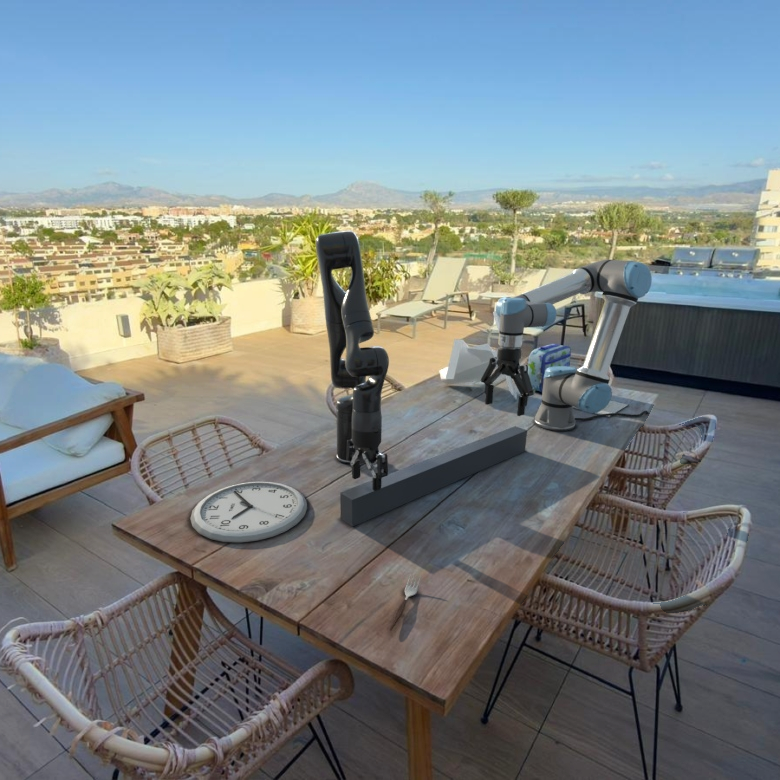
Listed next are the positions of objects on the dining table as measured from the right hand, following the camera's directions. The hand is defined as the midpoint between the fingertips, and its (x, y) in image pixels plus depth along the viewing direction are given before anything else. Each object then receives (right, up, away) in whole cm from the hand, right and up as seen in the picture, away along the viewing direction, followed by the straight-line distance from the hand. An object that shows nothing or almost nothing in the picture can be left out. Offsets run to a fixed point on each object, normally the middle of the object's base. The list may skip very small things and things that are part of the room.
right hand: (504, 409), depth 174 cm
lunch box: (+37, +7, +77) cm, 86 cm away
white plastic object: (+4, +5, +69) cm, 69 cm away
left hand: (-44, -18, -38) cm, 61 cm away
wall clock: (-75, -26, -35) cm, 87 cm away
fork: (-35, -37, -69) cm, 86 cm away
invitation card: (+53, -1, +52) cm, 75 cm away
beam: (-21, -21, -16) cm, 34 cm away
